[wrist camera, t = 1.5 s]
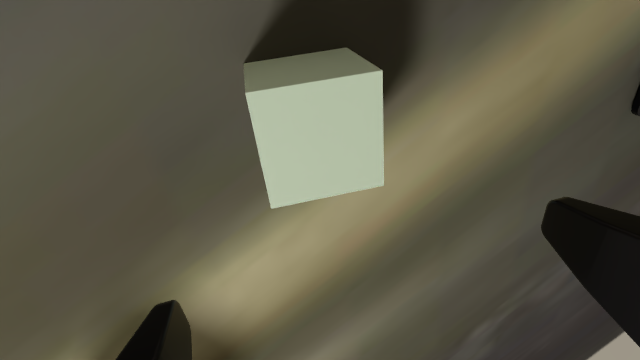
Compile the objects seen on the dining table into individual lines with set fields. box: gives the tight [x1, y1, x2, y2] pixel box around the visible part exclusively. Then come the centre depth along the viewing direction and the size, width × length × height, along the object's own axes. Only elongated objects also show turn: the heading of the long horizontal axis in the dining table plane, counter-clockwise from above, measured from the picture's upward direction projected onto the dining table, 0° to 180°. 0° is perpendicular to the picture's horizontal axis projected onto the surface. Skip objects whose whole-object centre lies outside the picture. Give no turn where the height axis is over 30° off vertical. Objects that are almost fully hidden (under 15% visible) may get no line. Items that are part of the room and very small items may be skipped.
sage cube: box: [244, 48, 384, 209], centre depth 16 cm, size 5×5×5 cm
